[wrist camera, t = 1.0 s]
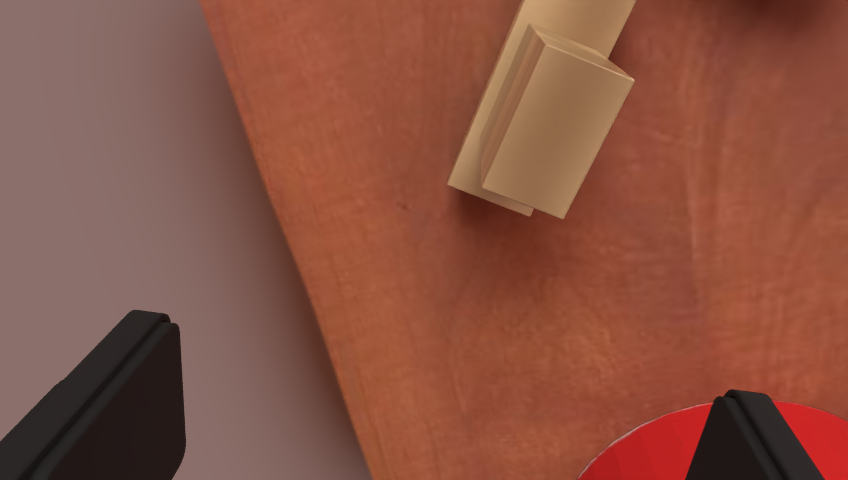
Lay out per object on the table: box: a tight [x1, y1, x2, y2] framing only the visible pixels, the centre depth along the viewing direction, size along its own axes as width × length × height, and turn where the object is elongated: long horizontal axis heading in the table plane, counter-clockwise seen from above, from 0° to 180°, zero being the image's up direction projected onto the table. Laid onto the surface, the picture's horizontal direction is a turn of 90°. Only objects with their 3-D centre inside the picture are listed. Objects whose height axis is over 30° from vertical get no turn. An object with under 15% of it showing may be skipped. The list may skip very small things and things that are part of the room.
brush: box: [447, 0, 637, 219], centre depth 25 cm, size 4×10×9 cm, turn 159°
